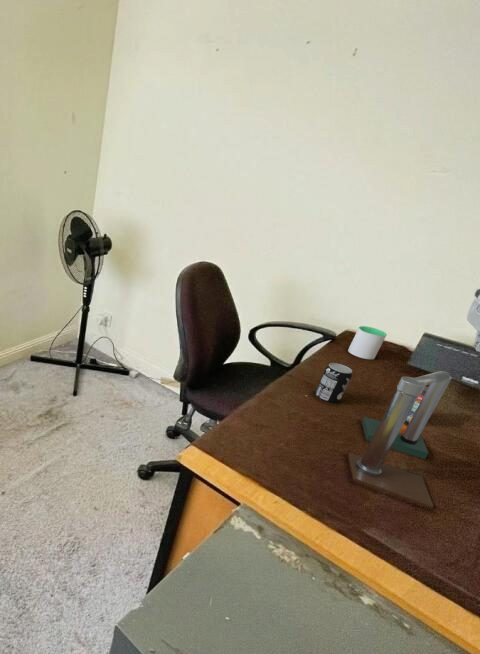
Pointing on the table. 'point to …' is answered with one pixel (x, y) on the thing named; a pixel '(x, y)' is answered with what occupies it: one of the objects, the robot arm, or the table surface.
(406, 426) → the button
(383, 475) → the slanted pole stand
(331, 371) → the beverage can
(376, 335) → the mug
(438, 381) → the spout
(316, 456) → the table surface
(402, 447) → the button box
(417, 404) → the ink box
